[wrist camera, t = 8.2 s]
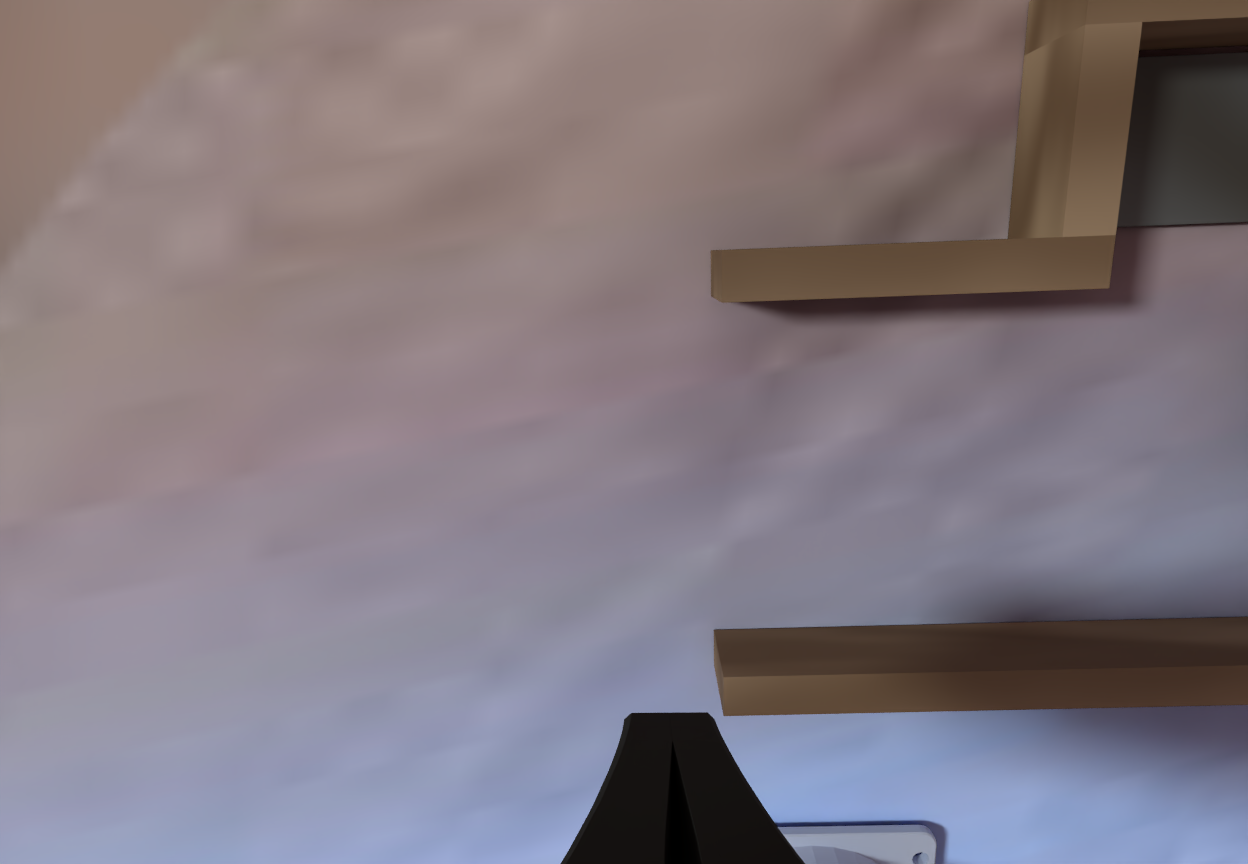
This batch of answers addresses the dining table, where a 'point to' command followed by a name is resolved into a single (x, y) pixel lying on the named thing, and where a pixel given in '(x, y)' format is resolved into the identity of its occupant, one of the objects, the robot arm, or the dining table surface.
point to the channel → (1034, 261)
